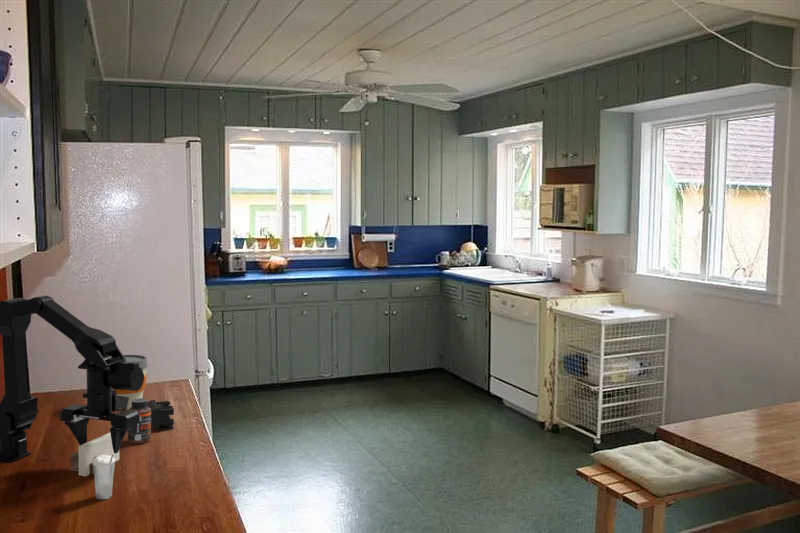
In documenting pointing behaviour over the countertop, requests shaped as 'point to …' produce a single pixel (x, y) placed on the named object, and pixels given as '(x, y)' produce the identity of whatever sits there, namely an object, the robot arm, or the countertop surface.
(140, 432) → the supplement bottle
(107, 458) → the milkshake
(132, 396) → the reusable coffee cup
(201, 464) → the countertop surface
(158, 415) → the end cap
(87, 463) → the cream plate
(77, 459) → the brown wooden flat piece
